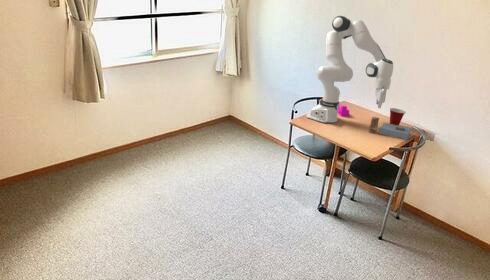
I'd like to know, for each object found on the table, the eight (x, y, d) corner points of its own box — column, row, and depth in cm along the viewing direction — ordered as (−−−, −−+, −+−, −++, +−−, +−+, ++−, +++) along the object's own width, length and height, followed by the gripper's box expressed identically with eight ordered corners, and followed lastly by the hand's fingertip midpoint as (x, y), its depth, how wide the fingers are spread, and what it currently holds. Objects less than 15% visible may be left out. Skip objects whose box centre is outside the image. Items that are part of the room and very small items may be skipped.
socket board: (378, 133, 258) (379, 127, 257) (382, 128, 270) (383, 122, 269) (407, 140, 251) (408, 134, 249) (409, 134, 262) (411, 128, 261)
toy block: (348, 116, 291) (350, 106, 288) (340, 116, 289) (342, 106, 287) (339, 110, 304) (341, 100, 302) (332, 110, 303) (333, 100, 300)
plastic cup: (405, 128, 274) (409, 111, 270) (393, 129, 270) (397, 112, 265) (394, 122, 283) (398, 107, 279) (382, 123, 279) (386, 107, 275)
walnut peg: (368, 132, 259) (371, 118, 256) (370, 130, 263) (373, 116, 259) (375, 133, 258) (378, 119, 254) (376, 132, 261) (379, 117, 257)
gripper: (389, 89, 238) (385, 110, 243) (385, 82, 257) (381, 103, 262) (379, 88, 239) (375, 109, 244) (375, 81, 258) (371, 101, 263)
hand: (378, 106), depth 253 cm, fingers open, 8 cm apart
